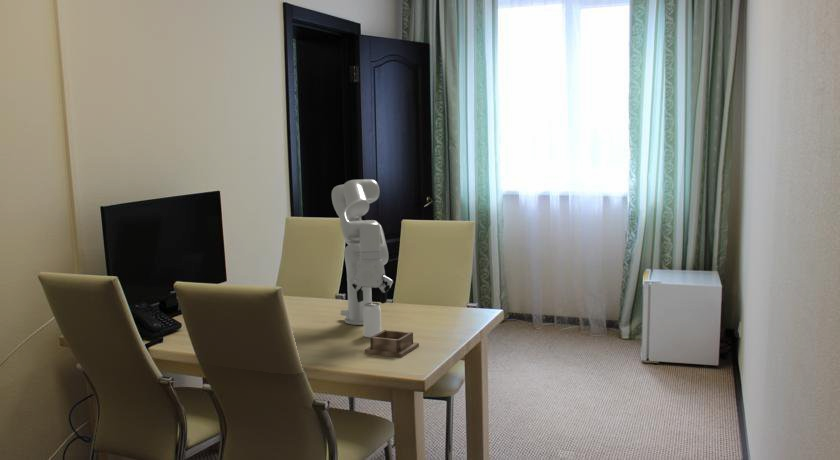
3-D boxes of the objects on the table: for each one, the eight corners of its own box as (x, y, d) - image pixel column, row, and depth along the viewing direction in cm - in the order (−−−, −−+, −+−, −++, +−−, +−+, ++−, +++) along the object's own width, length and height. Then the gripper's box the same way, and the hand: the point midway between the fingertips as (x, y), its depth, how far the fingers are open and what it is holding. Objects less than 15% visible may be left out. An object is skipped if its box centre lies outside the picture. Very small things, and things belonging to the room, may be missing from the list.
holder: (364, 353, 252) (364, 338, 251) (383, 342, 264) (382, 328, 264) (401, 357, 246) (401, 342, 245) (418, 346, 259) (418, 331, 258)
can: (384, 334, 276) (383, 302, 275) (377, 338, 270) (376, 306, 269) (368, 333, 278) (367, 301, 277) (361, 337, 272) (360, 305, 271)
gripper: (344, 256, 270) (346, 302, 272) (386, 257, 263) (388, 305, 265) (354, 254, 277) (356, 299, 279) (396, 255, 270) (397, 301, 272)
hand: (372, 302), depth 272 cm, fingers open, 9 cm apart
